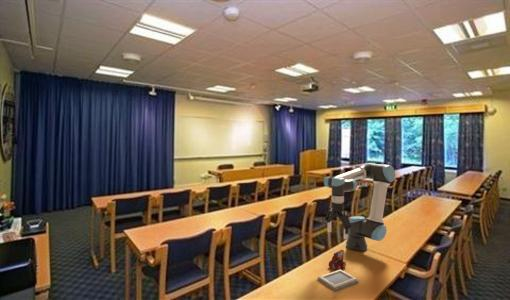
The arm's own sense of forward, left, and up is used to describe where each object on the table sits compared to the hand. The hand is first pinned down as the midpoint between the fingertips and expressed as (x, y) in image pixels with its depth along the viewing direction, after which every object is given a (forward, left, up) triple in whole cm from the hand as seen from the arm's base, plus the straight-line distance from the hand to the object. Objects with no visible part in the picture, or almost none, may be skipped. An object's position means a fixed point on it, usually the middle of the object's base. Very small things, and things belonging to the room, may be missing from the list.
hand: (337, 235), depth 171 cm
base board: (+12, +12, -21) cm, 27 cm away
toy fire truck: (0, 0, -21) cm, 21 cm away
